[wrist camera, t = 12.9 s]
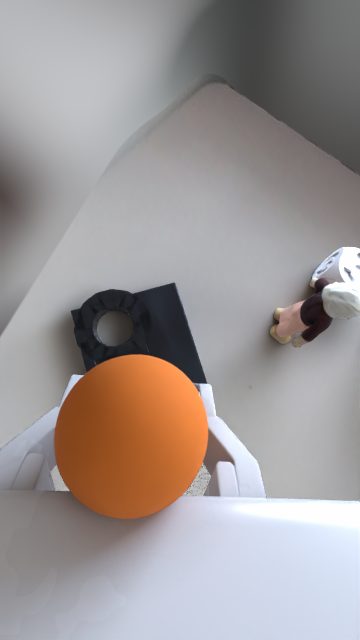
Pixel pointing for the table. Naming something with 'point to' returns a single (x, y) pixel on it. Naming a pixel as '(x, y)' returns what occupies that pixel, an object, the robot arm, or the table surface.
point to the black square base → (140, 329)
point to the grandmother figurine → (316, 312)
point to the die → (341, 267)
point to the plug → (131, 436)
